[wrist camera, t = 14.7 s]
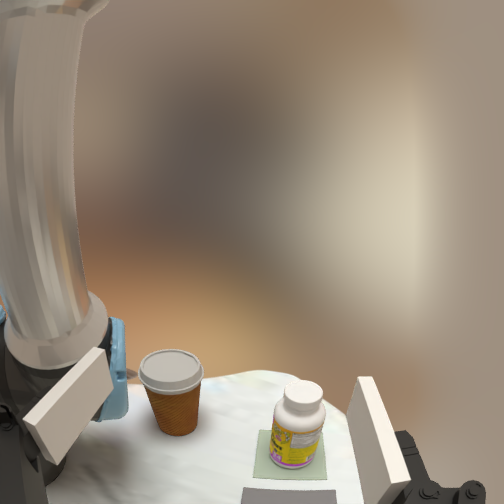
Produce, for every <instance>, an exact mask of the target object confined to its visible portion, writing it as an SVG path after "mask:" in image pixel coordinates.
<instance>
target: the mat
mask: <svg viewBox="0 0 504 504" xmlns="http://www.w3.org/2000/svg"><path fill="white" fill-rule="evenodd" d="M271 432H272V431H271V430H259V436H258V444H257V451H256V458H255V466H254V473H253V478H265V479H283V480H327V472H326V462H325V452H324V442H323V433H322V432H321V435H320V438H319V442H318V446H317V449H316V452H315V455H314V458H313V459H312V461H311V462H310V463H309V464H307V465H306V466H303V467H300V468H296V469H289V468H284V467H281V466H279V465H278V464H276V463H275V462H274V461H273V460H272V459H271V457H270V454H269V448H270V440H271Z"/></svg>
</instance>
